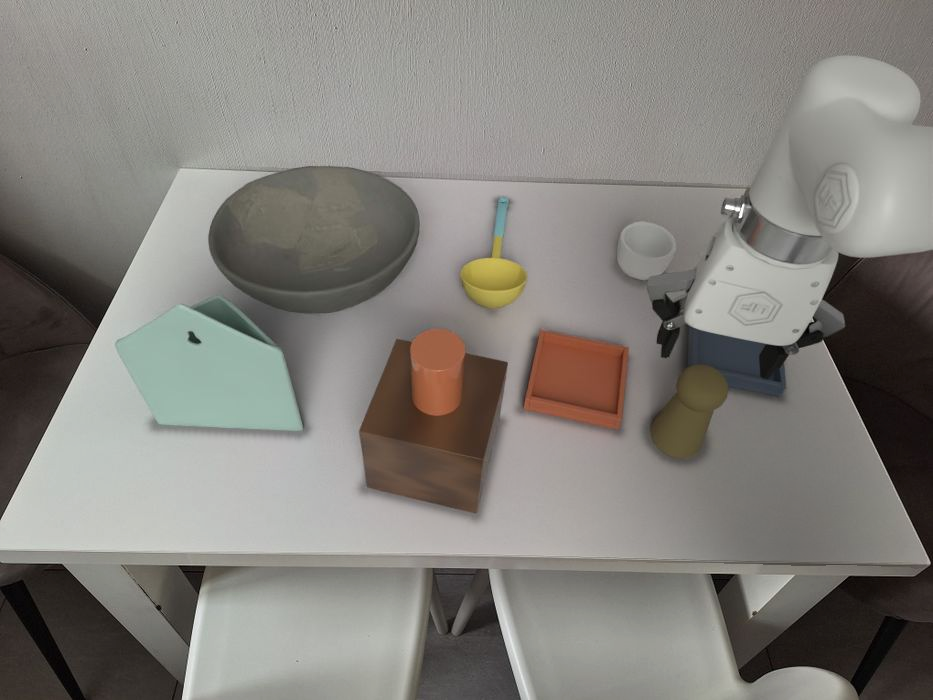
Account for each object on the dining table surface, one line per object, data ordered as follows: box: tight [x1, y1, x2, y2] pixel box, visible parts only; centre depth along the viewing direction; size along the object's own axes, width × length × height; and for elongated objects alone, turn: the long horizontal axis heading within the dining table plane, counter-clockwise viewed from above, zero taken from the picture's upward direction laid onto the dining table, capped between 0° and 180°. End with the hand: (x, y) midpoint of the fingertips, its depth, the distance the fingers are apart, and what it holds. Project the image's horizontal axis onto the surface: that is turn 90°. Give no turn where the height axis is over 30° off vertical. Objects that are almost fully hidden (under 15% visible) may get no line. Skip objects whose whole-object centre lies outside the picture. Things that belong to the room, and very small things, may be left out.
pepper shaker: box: [649, 364, 730, 460], centre depth 71 cm, size 6×6×11 cm
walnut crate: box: [358, 338, 509, 514], centre depth 68 cm, size 12×12×11 cm
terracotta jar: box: [410, 328, 466, 416], centre depth 62 cm, size 5×5×7 cm
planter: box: [114, 294, 304, 432], centre depth 68 cm, size 16×8×20 cm, turn 89°
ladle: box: [459, 196, 528, 309], centre depth 93 cm, size 9×26×6 cm, turn 174°
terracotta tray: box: [522, 329, 630, 430], centre depth 79 cm, size 11×11×2 cm
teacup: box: [616, 219, 677, 281], centre depth 92 cm, size 10×8×5 cm
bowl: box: [207, 165, 421, 314], centre depth 86 cm, size 26×26×10 cm
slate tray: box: [687, 324, 787, 398], centre depth 83 cm, size 11×11×2 cm
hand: (713, 357), depth 65 cm, fingers open, 9 cm apart
